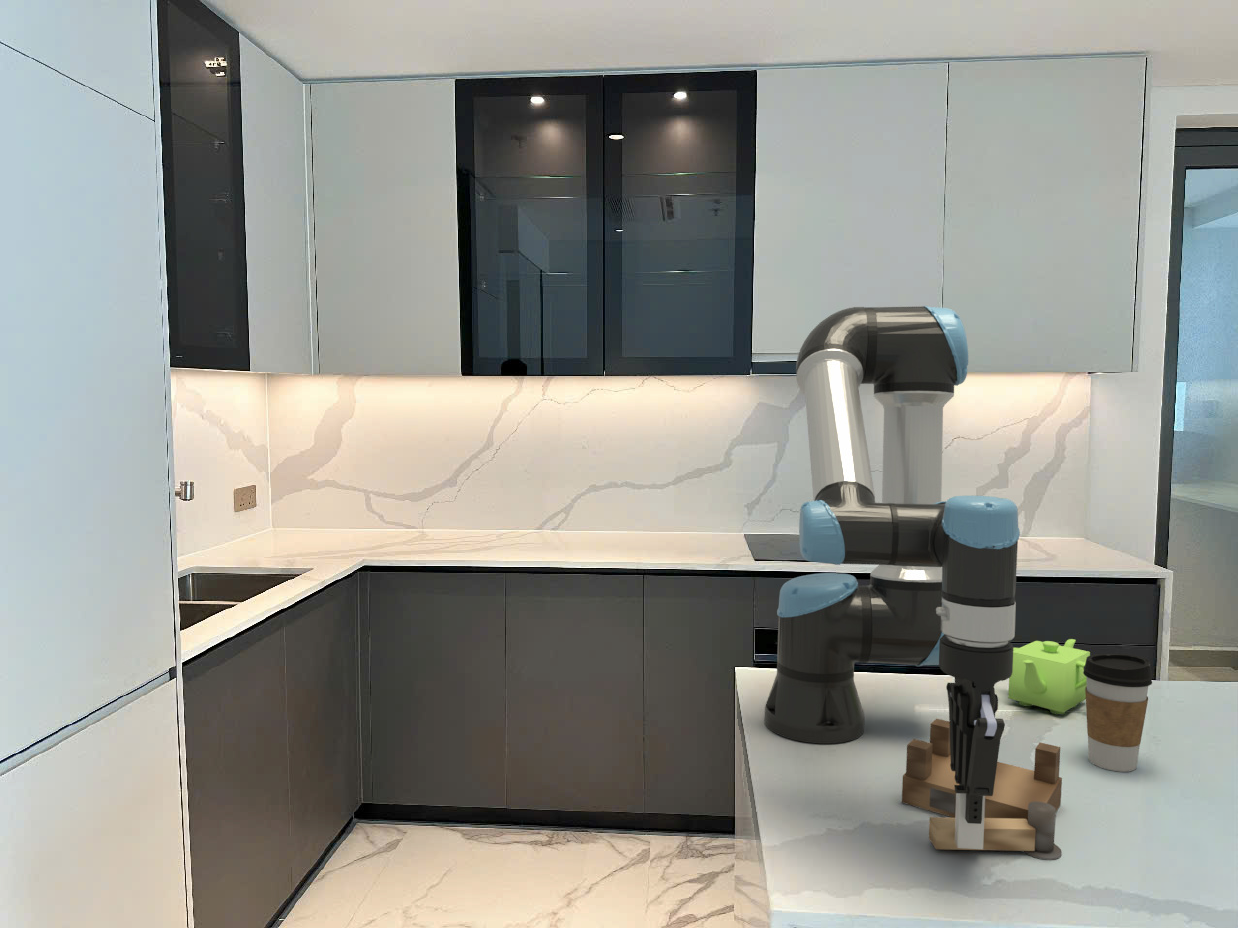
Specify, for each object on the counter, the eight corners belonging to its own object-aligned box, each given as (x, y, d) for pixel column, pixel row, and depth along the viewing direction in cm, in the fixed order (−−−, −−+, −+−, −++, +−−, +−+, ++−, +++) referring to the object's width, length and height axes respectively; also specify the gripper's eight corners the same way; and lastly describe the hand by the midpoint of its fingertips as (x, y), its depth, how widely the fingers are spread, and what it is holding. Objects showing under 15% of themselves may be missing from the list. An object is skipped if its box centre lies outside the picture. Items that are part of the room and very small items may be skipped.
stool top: (890, 813, 109) (892, 754, 108) (932, 770, 121) (934, 717, 121) (1056, 863, 97) (1060, 798, 97) (1084, 810, 110) (1087, 752, 109)
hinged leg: (1046, 839, 102) (1048, 801, 101) (1058, 851, 99) (1060, 813, 99) (928, 837, 102) (929, 799, 102) (936, 849, 99) (938, 811, 99)
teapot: (1070, 691, 155) (1074, 631, 154) (1115, 719, 141) (1119, 654, 140) (984, 691, 154) (987, 631, 153) (1021, 719, 141) (1025, 654, 140)
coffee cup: (1157, 778, 119) (1163, 670, 118) (1089, 772, 121) (1095, 665, 120) (1134, 753, 128) (1140, 652, 126) (1070, 748, 129) (1076, 648, 128)
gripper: (926, 621, 104) (920, 816, 105) (957, 653, 91) (949, 874, 93) (992, 623, 103) (985, 819, 105) (1033, 656, 90) (1024, 878, 92)
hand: (968, 845), depth 99 cm, fingers closed
